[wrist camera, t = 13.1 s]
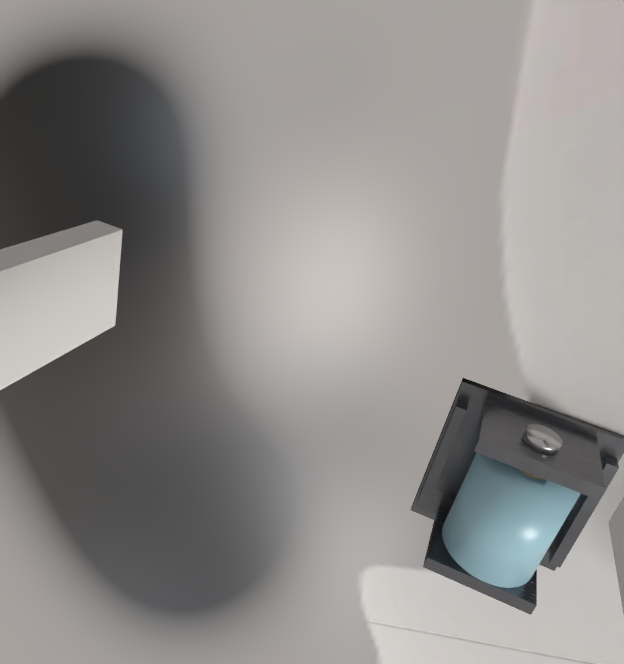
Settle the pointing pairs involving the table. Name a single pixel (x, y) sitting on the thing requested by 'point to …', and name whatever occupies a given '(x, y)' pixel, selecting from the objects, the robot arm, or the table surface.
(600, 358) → the table surface
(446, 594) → the table surface
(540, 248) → the table surface
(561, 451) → the holder
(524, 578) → the roll
